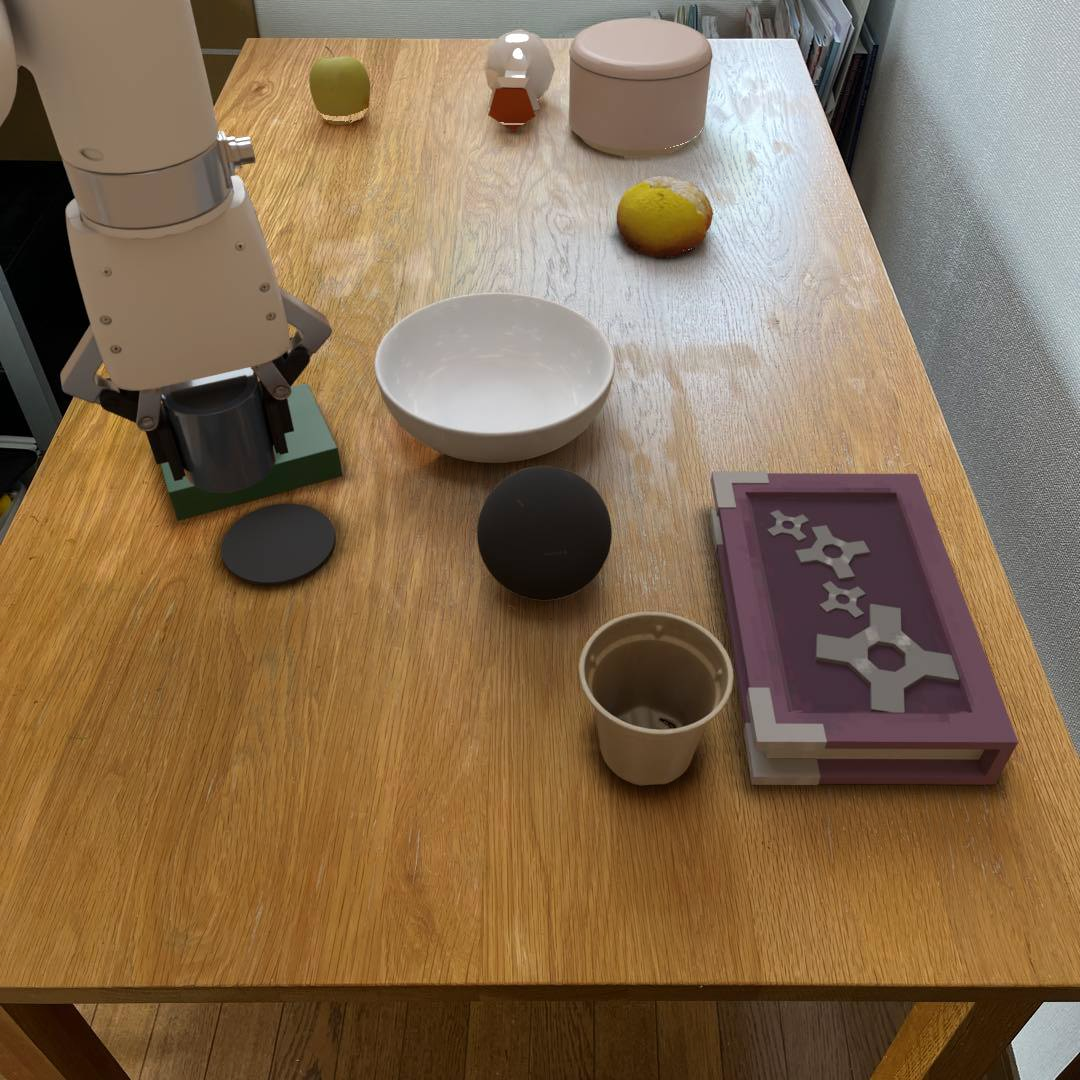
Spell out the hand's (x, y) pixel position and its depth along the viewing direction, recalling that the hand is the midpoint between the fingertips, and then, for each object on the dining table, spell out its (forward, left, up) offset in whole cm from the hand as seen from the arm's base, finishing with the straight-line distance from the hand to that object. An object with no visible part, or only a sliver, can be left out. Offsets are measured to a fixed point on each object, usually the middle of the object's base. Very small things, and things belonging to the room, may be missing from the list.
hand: (227, 451), depth 65 cm
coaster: (+2, +9, -18) cm, 20 cm away
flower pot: (+20, -20, -18) cm, 33 cm away
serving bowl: (+24, +17, -18) cm, 35 cm away
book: (+37, -17, -18) cm, 45 cm away
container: (+64, +67, -18) cm, 94 cm away
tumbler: (0, 0, -1) cm, 1 cm away
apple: (+30, +86, -18) cm, 93 cm away
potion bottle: (+53, +79, -18) cm, 97 cm away
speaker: (+20, -3, -18) cm, 27 cm away
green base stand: (+2, +20, -18) cm, 27 cm away
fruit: (+54, +41, -18) cm, 70 cm away
